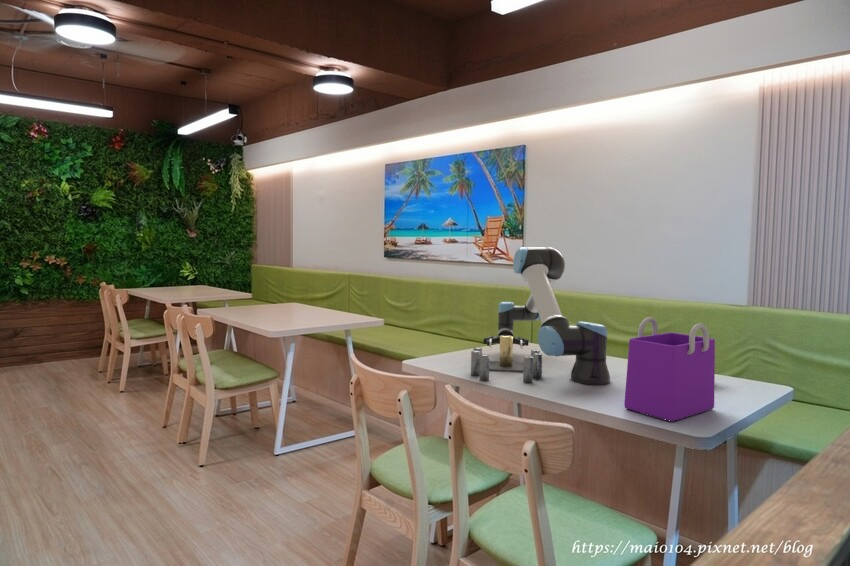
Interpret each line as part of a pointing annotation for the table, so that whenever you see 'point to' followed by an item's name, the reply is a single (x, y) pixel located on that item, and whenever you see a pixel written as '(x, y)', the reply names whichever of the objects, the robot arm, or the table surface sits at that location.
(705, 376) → the shopping bag
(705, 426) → the table surface
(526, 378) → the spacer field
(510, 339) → the brass canister
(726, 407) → the table surface
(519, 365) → the mat
